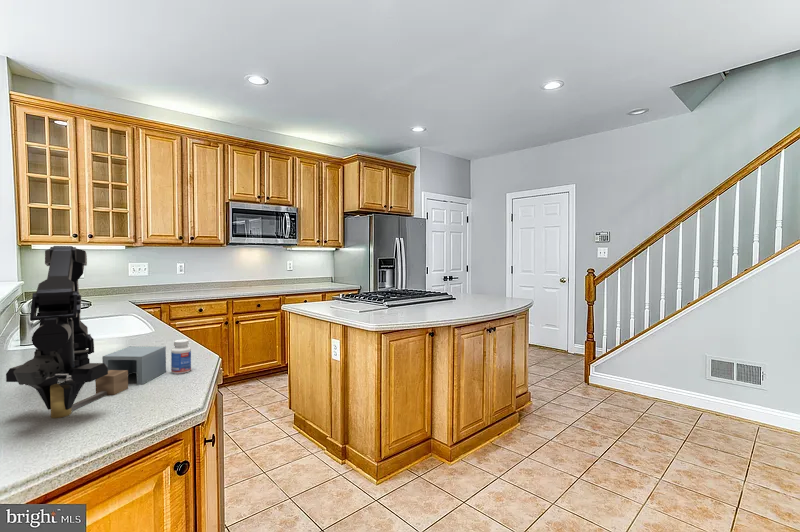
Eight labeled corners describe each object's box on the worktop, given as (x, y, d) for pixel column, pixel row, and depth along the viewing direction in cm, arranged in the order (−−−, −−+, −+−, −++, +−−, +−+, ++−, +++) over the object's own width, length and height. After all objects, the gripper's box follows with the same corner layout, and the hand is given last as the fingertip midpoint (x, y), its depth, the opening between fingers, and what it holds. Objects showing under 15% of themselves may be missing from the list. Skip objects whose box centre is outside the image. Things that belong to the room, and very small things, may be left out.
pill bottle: (182, 374, 120) (181, 343, 119) (167, 373, 121) (166, 342, 120) (195, 369, 125) (194, 339, 124) (180, 368, 126) (180, 338, 126)
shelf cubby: (103, 384, 111) (102, 356, 110) (130, 371, 122) (130, 346, 122) (142, 384, 111) (141, 356, 110) (166, 371, 122) (165, 346, 122)
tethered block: (43, 417, 89) (42, 387, 88) (110, 387, 108) (110, 362, 108) (64, 418, 88) (63, 388, 88) (128, 388, 108) (127, 363, 107)
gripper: (-22, 350, 81) (-19, 424, 82) (69, 351, 81) (71, 425, 82) (28, 338, 92) (30, 403, 93) (108, 338, 92) (110, 403, 93)
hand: (59, 409), depth 90 cm, fingers closed on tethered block, 4 cm apart
